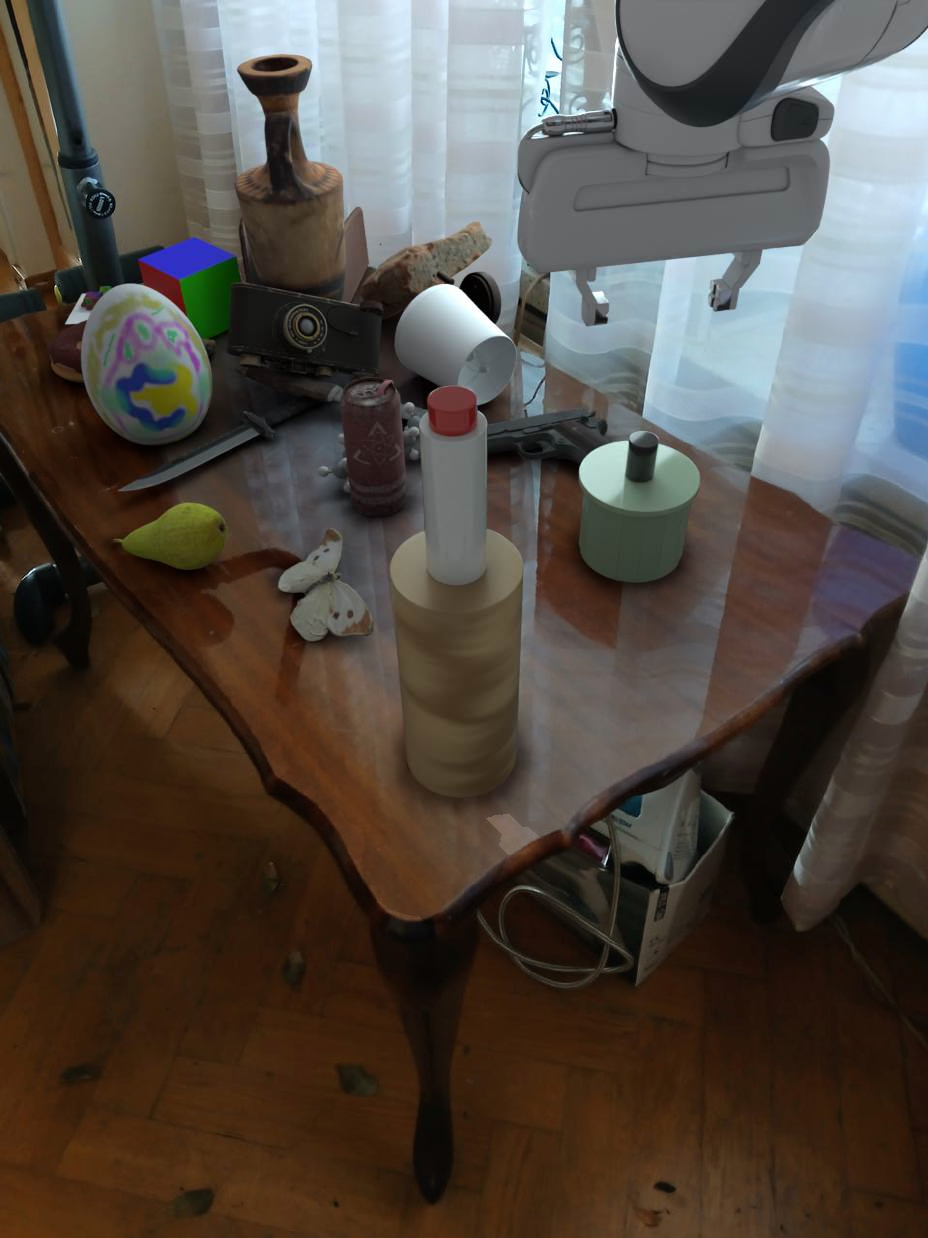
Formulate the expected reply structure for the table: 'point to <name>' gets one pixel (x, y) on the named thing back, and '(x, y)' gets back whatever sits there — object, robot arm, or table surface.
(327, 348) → the camera
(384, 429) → the can
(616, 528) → the pot
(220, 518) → the fruit
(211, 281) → the cube
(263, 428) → the knife
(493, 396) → the light fixture
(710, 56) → the robot arm
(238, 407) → the table surface
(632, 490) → the pot lid
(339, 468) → the molecular model
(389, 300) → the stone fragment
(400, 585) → the pedestal
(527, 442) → the handgun
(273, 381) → the knife
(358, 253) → the letter holder
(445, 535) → the spice bottle
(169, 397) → the decorative egg
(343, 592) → the butterfly
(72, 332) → the donut
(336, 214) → the vase
